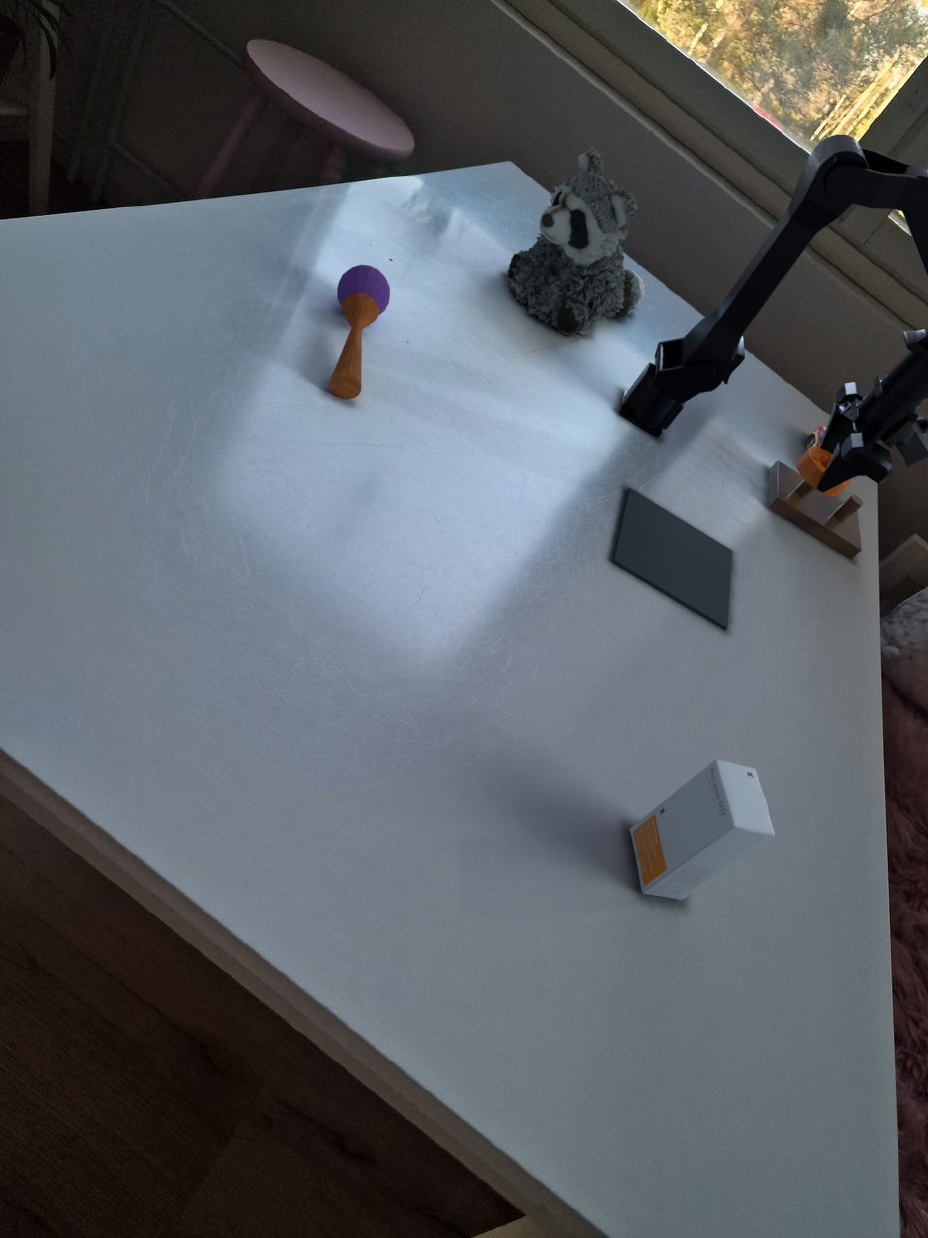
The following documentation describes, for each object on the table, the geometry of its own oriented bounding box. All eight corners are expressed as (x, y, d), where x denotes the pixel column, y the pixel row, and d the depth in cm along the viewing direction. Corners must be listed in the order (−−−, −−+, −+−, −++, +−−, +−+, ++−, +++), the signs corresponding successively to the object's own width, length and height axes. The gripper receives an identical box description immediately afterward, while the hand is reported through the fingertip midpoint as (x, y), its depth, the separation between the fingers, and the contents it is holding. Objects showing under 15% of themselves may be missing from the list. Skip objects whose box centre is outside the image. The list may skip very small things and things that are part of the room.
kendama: (321, 355, 99) (346, 248, 112) (311, 401, 104) (336, 292, 116) (379, 371, 100) (397, 263, 113) (367, 415, 105) (385, 306, 118)
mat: (612, 562, 108) (614, 559, 108) (627, 489, 119) (629, 487, 119) (725, 630, 110) (727, 627, 110) (730, 552, 121) (732, 550, 121)
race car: (831, 494, 146) (850, 475, 143) (801, 474, 145) (820, 455, 143) (833, 453, 156) (851, 434, 153) (805, 434, 155) (823, 415, 153)
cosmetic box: (626, 828, 84) (714, 755, 76) (667, 837, 86) (757, 766, 78) (639, 896, 80) (734, 826, 72) (682, 903, 82) (778, 836, 74)
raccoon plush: (470, 281, 134) (550, 136, 120) (570, 248, 158) (647, 124, 144) (553, 354, 132) (645, 216, 118) (642, 309, 156) (727, 190, 142)
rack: (768, 507, 134) (795, 478, 130) (768, 469, 141) (794, 441, 138) (851, 559, 136) (880, 533, 132) (847, 519, 143) (875, 493, 140)
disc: (797, 478, 132) (809, 465, 130) (796, 451, 137) (808, 438, 135) (838, 504, 133) (851, 491, 131) (835, 477, 138) (848, 464, 136)
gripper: (965, 459, 119) (870, 545, 129) (945, 389, 132) (861, 471, 143) (891, 410, 117) (801, 501, 127) (879, 344, 131) (799, 430, 141)
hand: (818, 475), depth 134 cm, fingers closed on disc, 7 cm apart
